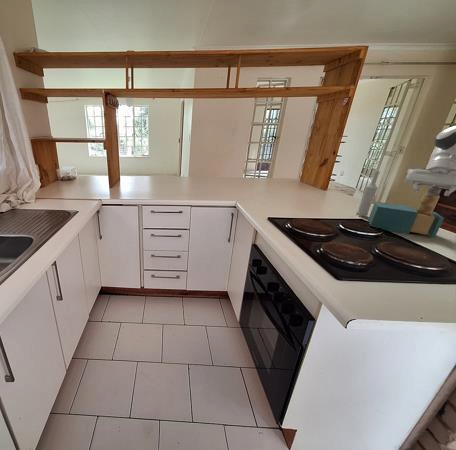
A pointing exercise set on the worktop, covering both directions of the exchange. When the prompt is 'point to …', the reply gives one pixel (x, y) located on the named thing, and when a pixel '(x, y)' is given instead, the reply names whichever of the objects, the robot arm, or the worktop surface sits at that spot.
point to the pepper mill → (429, 201)
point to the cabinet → (392, 217)
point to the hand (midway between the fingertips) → (431, 192)
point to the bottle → (368, 196)
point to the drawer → (427, 224)
